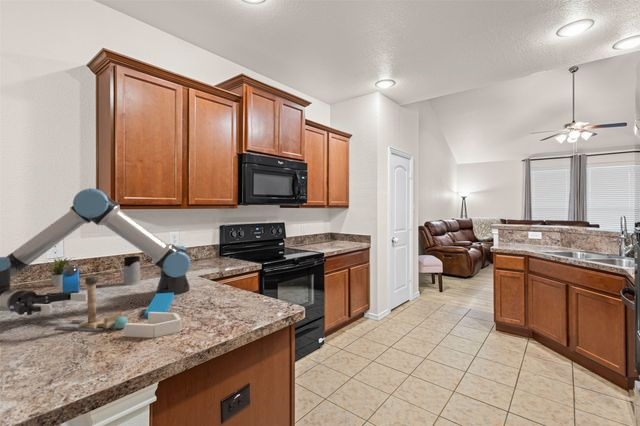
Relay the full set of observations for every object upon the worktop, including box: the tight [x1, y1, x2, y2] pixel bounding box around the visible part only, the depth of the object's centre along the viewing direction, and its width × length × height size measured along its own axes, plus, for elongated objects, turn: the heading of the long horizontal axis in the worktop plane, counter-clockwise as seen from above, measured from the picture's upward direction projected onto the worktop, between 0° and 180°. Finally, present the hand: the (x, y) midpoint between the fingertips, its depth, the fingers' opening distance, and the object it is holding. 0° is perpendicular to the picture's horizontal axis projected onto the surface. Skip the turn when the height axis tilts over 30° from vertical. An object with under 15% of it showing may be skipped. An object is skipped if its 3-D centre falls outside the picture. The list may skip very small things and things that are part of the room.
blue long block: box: [144, 293, 175, 319], centre depth 127 cm, size 7×7×18 cm
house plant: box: [44, 256, 76, 287], centre depth 171 cm, size 14×14×16 cm
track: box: [54, 319, 104, 333], centre depth 109 cm, size 18×7×1 cm, turn 83°
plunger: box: [78, 276, 123, 329], centre depth 108 cm, size 12×6×17 cm, turn 83°
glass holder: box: [118, 255, 142, 286], centre depth 175 cm, size 9×14×15 cm, turn 71°
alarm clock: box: [62, 264, 81, 293], centre depth 148 cm, size 13×6×15 cm, turn 38°
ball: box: [114, 316, 129, 330], centre depth 107 cm, size 4×4×4 cm
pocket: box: [124, 311, 183, 339], centre depth 105 cm, size 16×12×4 cm
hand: (69, 302), depth 109 cm, fingers open, 13 cm apart
